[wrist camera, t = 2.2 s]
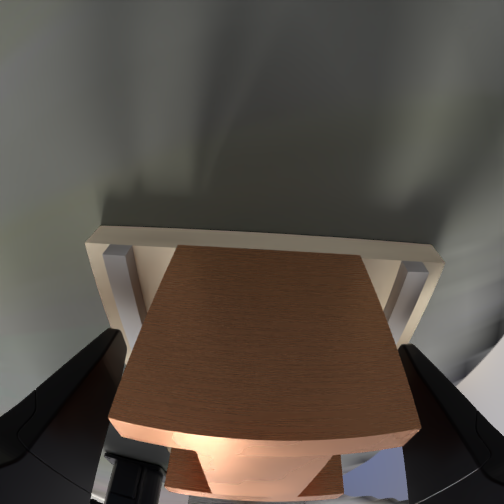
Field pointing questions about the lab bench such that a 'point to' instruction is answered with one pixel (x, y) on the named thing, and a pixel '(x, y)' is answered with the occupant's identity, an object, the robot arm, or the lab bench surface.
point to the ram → (264, 374)
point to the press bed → (166, 240)
